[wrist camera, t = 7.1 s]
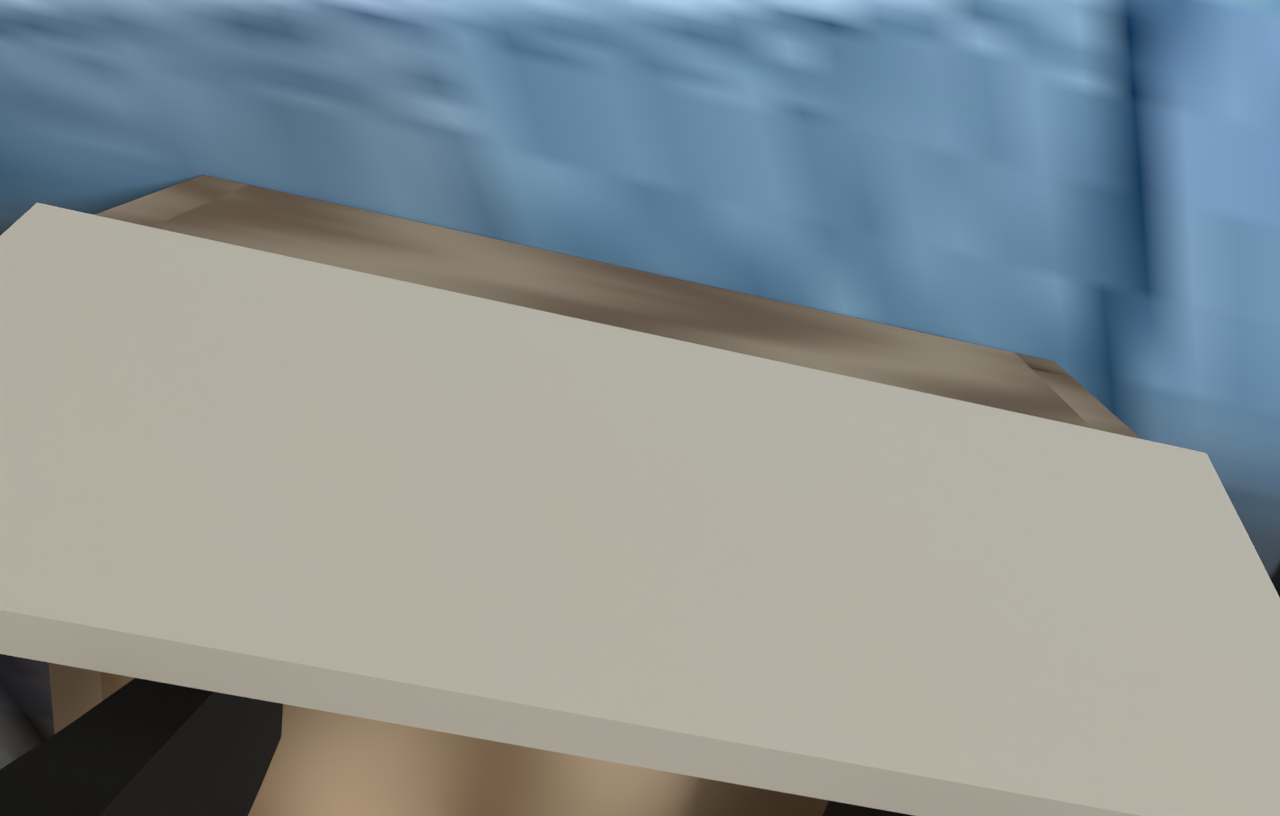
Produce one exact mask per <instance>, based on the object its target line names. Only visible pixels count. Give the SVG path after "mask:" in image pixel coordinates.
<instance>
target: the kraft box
mask: <svg viewBox="0 0 1280 816" xmlns="http://www.w3.org/2000/svg"><path fill="white" fill-rule="evenodd" d="M95 215H97V216H102V217H106V218H111V219H116V220H120V221H125V222H130V223H134V224H139V225H144V226H148V227H153V228H158V229H162V230H167V231H172V232H176V233H181V234H186V235H190V236H195V237H200V238H204V239H209V240H214V241H218V242H223V243H228V244H232V245H237V246H242V247H246V248H251V249H256V250H260V251H265V252H270V253H274V254H279V255H284V256H288V257H293V258H298V259H302V260H307V261H312V262H316V263H321V264H326V265H330V266H335V267H340V268H344V269H349V270H354V271H358V272H363V273H368V274H372V275H377V276H382V277H386V278H391V279H396V280H400V281H405V282H410V283H414V284H419V285H424V286H428V287H433V288H438V289H442V290H447V291H452V292H456V293H461V294H466V295H470V296H475V297H480V298H484V299H489V300H494V301H498V302H503V303H508V304H512V305H517V306H522V307H526V308H531V309H536V310H540V311H545V312H550V313H554V314H559V315H564V316H568V317H573V318H578V319H582V320H587V321H592V322H596V323H601V324H606V325H610V326H615V327H620V328H624V329H629V330H634V331H638V332H643V333H648V334H653V335H657V336H662V337H667V338H671V339H676V340H681V341H685V342H690V343H695V344H699V345H704V346H709V347H713V348H718V349H723V350H727V351H732V352H737V353H741V354H746V355H751V356H755V357H760V358H765V359H769V360H774V361H779V362H783V363H788V364H793V365H797V366H802V367H807V368H811V369H816V370H821V371H825V372H830V373H835V374H839V375H844V376H849V377H853V378H858V379H863V380H867V381H872V382H877V383H881V384H886V385H891V386H895V387H900V388H905V389H909V390H914V391H919V392H923V393H928V394H933V395H937V396H942V397H947V398H951V399H956V400H961V401H965V402H970V403H975V404H979V405H984V406H989V407H993V408H998V409H1003V410H1007V411H1012V412H1017V413H1021V414H1026V415H1031V416H1035V417H1040V418H1045V419H1049V420H1054V421H1059V422H1063V423H1068V424H1073V425H1077V426H1082V427H1087V428H1091V429H1096V430H1101V431H1105V432H1110V433H1115V434H1119V435H1124V436H1129V437H1133V438H1138V439H1140V438H1139V437H1138V436H1137V435H1136V434H1135V433H1134V432H1133V431H1132V430H1130V429H1129V428H1128V427H1127V426H1126V425H1125V424H1124V423H1123V422H1121V421H1120V420H1119V419H1118V418H1117V417H1116V416H1115V415H1114V414H1113V413H1111V412H1110V411H1109V410H1108V409H1107V408H1106V407H1105V406H1104V405H1102V404H1101V403H1100V402H1099V401H1098V400H1097V399H1096V398H1095V397H1094V396H1092V395H1091V394H1090V393H1089V392H1088V391H1087V390H1086V389H1085V388H1083V387H1082V386H1081V385H1080V384H1079V383H1078V382H1077V381H1076V380H1075V379H1073V378H1072V377H1071V376H1070V375H1069V374H1068V373H1067V372H1066V371H1065V370H1063V369H1062V368H1061V367H1060V366H1059V365H1058V364H1057V363H1056V362H1054V361H1049V360H1044V359H1040V358H1035V357H1031V356H1026V355H1022V354H1017V353H1013V352H1008V351H1003V350H999V349H994V348H990V347H985V346H981V345H976V344H972V343H967V342H962V341H958V340H953V339H949V338H944V337H940V336H935V335H931V334H926V333H921V332H917V331H912V330H908V329H903V328H899V327H894V326H890V325H885V324H880V323H876V322H871V321H867V320H862V319H858V318H853V317H848V316H844V315H839V314H835V313H830V312H826V311H821V310H817V309H812V308H807V307H803V306H798V305H794V304H789V303H785V302H780V301H776V300H771V299H766V298H762V297H757V296H753V295H748V294H744V293H739V292H735V291H730V290H725V289H721V288H716V287H712V286H707V285H703V284H698V283H694V282H689V281H684V280H680V279H675V278H671V277H666V276H662V275H657V274H652V273H648V272H643V271H639V270H634V269H630V268H625V267H621V266H616V265H611V264H607V263H602V262H598V261H593V260H589V259H584V258H580V257H575V256H570V255H566V254H561V253H557V252H552V251H548V250H543V249H539V248H534V247H529V246H525V245H520V244H516V243H511V242H507V241H502V240H498V239H493V238H488V237H484V236H479V235H475V234H470V233H466V232H461V231H457V230H452V229H447V228H443V227H438V226H434V225H429V224H425V223H420V222H415V221H411V220H406V219H402V218H397V217H393V216H388V215H384V214H379V213H374V212H370V211H365V210H361V209H356V208H352V207H347V206H343V205H338V204H333V203H329V202H324V201H320V200H315V199H311V198H306V197H302V196H297V195H292V194H288V193H283V192H279V191H274V190H270V189H265V188H261V187H256V186H251V185H247V184H242V183H238V182H233V181H229V180H224V179H219V178H215V177H210V176H206V175H201V176H198V177H196V178H193V179H190V180H187V181H185V182H182V183H179V184H177V185H174V186H171V187H168V188H166V189H163V190H160V191H158V192H155V193H152V194H149V195H147V196H144V197H141V198H139V199H136V200H133V201H130V202H128V203H125V204H122V205H120V206H117V207H114V208H111V209H109V210H106V211H103V212H100V213H98V214H95ZM48 665H49V677H50V688H51V699H52V711H53V722H54V733H55V734H56V733H57V732H59V731H60V730H62V729H63V728H65V727H66V726H68V725H69V724H70V723H72V722H73V721H75V720H76V719H78V718H79V717H81V716H82V715H83V714H85V713H86V712H88V711H89V710H90V709H92V708H93V707H95V706H96V705H97V704H99V703H100V702H102V701H103V700H104V699H106V698H107V697H109V696H110V695H111V694H113V693H114V692H116V691H117V690H119V689H120V688H121V687H123V686H124V685H126V684H127V683H128V682H130V681H131V680H133V679H134V677H128V676H123V675H117V674H111V673H106V672H100V671H94V670H89V669H83V668H77V667H72V666H66V665H60V664H55V663H49V662H48ZM828 802H829V800H824V799H818V798H813V797H807V796H801V795H796V794H790V793H784V792H779V791H773V790H767V789H762V788H756V787H750V786H745V785H739V784H733V783H728V782H722V781H716V780H711V779H705V778H699V777H694V776H688V775H682V774H677V773H671V772H665V771H660V770H654V769H649V768H643V767H637V766H632V765H626V764H620V763H615V762H609V761H603V760H598V759H592V758H586V757H581V756H575V755H569V754H564V753H558V752H552V751H547V750H541V749H535V748H530V747H524V746H518V745H513V744H507V743H501V742H496V741H490V740H485V739H479V738H473V737H468V736H462V735H456V734H451V733H445V732H439V731H434V730H428V729H422V728H417V727H411V726H405V725H400V724H394V723H388V722H383V721H377V720H371V719H366V718H360V717H354V716H349V715H343V714H337V713H332V712H326V711H321V710H315V709H309V708H304V707H298V706H292V705H287V704H283V715H282V733H281V739H280V741H279V744H278V746H277V749H276V751H275V753H274V756H273V758H272V761H271V763H270V766H269V768H268V770H267V773H266V775H265V778H264V780H263V783H262V785H261V787H260V789H259V792H258V794H257V796H256V799H255V801H254V803H253V806H252V808H251V810H250V813H249V815H248V816H823V813H824V811H825V809H826V806H827V804H828Z"/></svg>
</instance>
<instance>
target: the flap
mask: <svg viewBox="0 0 1280 816" xmlns="http://www.w3.org/2000/svg"><path fill="white" fill-rule="evenodd" d="M0 654H4V655H9V656H15V657H21V658H26V659H32V660H38V661H43V662H49V663H55V664H60V665H66V666H72V667H77V668H83V669H89V670H94V671H100V672H106V673H111V674H117V675H123V676H128V677H134V678H140V679H145V680H151V681H157V682H162V683H168V684H173V685H179V686H185V687H190V688H196V689H202V690H207V691H213V692H219V693H224V694H230V695H236V696H241V697H247V698H253V699H258V700H264V701H270V702H275V703H281V704H287V705H292V706H298V707H304V708H309V709H315V710H321V711H326V712H332V713H337V714H343V715H349V716H354V717H360V718H366V719H371V720H377V721H383V722H388V723H394V724H400V725H405V726H411V727H417V728H422V729H428V730H434V731H439V732H445V733H451V734H456V735H462V736H468V737H473V738H479V739H485V740H490V741H496V742H501V743H507V744H513V745H518V746H524V747H530V748H535V749H541V750H547V751H552V752H558V753H564V754H569V755H575V756H581V757H586V758H592V759H598V760H603V761H609V762H615V763H620V764H626V765H632V766H637V767H643V768H649V769H654V770H660V771H665V772H671V773H677V774H682V775H688V776H694V777H699V778H705V779H711V780H716V781H722V782H728V783H733V784H739V785H745V786H750V787H756V788H762V789H767V790H773V791H779V792H784V793H790V794H796V795H801V796H807V797H813V798H818V799H824V800H829V801H835V802H841V803H846V804H852V805H858V806H863V807H869V808H875V809H880V810H886V811H892V812H897V813H903V814H909V815H914V816H1280V597H1279V595H1278V593H1277V591H1276V589H1275V587H1274V585H1273V583H1272V581H1271V580H1270V578H1269V576H1268V574H1267V572H1266V570H1265V568H1264V566H1263V564H1262V562H1261V560H1260V558H1259V556H1258V554H1257V552H1256V550H1255V548H1254V546H1253V544H1252V542H1251V540H1250V538H1249V536H1248V534H1247V532H1246V530H1245V528H1244V526H1243V524H1242V522H1241V520H1240V518H1239V517H1238V515H1237V513H1236V511H1235V509H1234V507H1233V505H1232V503H1231V501H1230V499H1229V497H1228V495H1227V493H1226V491H1225V489H1224V487H1223V485H1222V483H1221V481H1220V479H1219V477H1218V475H1217V473H1216V471H1215V469H1214V467H1213V465H1212V463H1211V461H1210V459H1209V457H1208V455H1207V453H1203V452H1199V451H1194V450H1189V449H1185V448H1180V447H1175V446H1171V445H1166V444H1161V443H1157V442H1152V441H1147V440H1143V439H1138V438H1133V437H1129V436H1124V435H1119V434H1115V433H1110V432H1105V431H1101V430H1096V429H1091V428H1087V427H1082V426H1077V425H1073V424H1068V423H1063V422H1059V421H1054V420H1049V419H1045V418H1040V417H1035V416H1031V415H1026V414H1021V413H1017V412H1012V411H1007V410H1003V409H998V408H993V407H989V406H984V405H979V404H975V403H970V402H965V401H961V400H956V399H951V398H947V397H942V396H937V395H933V394H928V393H923V392H919V391H914V390H909V389H905V388H900V387H895V386H891V385H886V384H881V383H877V382H872V381H867V380H863V379H858V378H853V377H849V376H844V375H839V374H835V373H830V372H825V371H821V370H816V369H811V368H807V367H802V366H797V365H793V364H788V363H783V362H779V361H774V360H769V359H765V358H760V357H755V356H751V355H746V354H741V353H737V352H732V351H727V350H723V349H718V348H713V347H709V346H704V345H699V344H695V343H690V342H685V341H681V340H676V339H671V338H667V337H662V336H657V335H653V334H648V333H643V332H638V331H634V330H629V329H624V328H620V327H615V326H610V325H606V324H601V323H596V322H592V321H587V320H582V319H578V318H573V317H568V316H564V315H559V314H554V313H550V312H545V311H540V310H536V309H531V308H526V307H522V306H517V305H512V304H508V303H503V302H498V301H494V300H489V299H484V298H480V297H475V296H470V295H466V294H461V293H456V292H452V291H447V290H442V289H438V288H433V287H428V286H424V285H419V284H414V283H410V282H405V281H400V280H396V279H391V278H386V277H382V276H377V275H372V274H368V273H363V272H358V271H354V270H349V269H344V268H340V267H335V266H330V265H326V264H321V263H316V262H312V261H307V260H302V259H298V258H293V257H288V256H284V255H279V254H274V253H270V252H265V251H260V250H256V249H251V248H246V247H242V246H237V245H232V244H228V243H223V242H218V241H214V240H209V239H204V238H200V237H195V236H190V235H186V234H181V233H176V232H172V231H167V230H162V229H158V228H153V227H148V226H144V225H139V224H134V223H130V222H125V221H120V220H116V219H111V218H106V217H102V216H97V215H92V214H88V213H83V212H78V211H73V210H69V209H64V208H59V207H55V206H50V205H45V204H41V203H36V204H35V205H34V206H33V207H32V208H31V209H30V210H28V211H27V212H26V213H25V214H24V215H23V216H22V217H21V218H20V219H18V220H17V221H16V222H15V223H14V224H13V225H12V226H11V227H10V228H8V229H7V230H6V231H5V232H4V233H3V234H2V235H1V236H0Z"/></svg>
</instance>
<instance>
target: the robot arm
mask: <svg viewBox="0 0 1280 816" xmlns="http://www.w3.org/2000/svg"><path fill="white" fill-rule="evenodd" d="M282 715H283V704H281V703H275V702H270V701H264V700H258V699H253V698H247V697H241V696H236V695H230V694H224V693H219V692H213V691H207V690H202V689H196V688H190V687H185V686H179V685H173V684H168V683H162V682H157V681H151V680H145V679H140V678H134V679H133V680H131V681H130V682H128V683H127V684H126V685H124V686H123V687H121V688H120V689H119V690H117V691H116V692H114V693H113V694H111V695H110V696H109V697H107V698H106V699H104V700H103V701H102V702H100V703H99V704H97V705H96V706H95V707H93V708H92V709H90V710H89V711H88V712H86V713H85V714H83V715H82V716H81V717H79V718H78V719H76V720H75V721H73V722H72V723H70V724H69V725H68V726H66V727H65V728H63V729H62V730H60V731H59V732H57V733H56V734H54V735H53V736H51V737H50V738H48V739H47V740H45V741H44V742H42V743H40V744H39V745H37V746H36V747H34V748H33V749H31V750H30V751H28V752H27V753H25V754H24V755H22V756H21V757H19V758H17V759H16V760H14V761H13V762H11V763H10V764H8V765H7V766H5V767H4V768H2V769H1V770H0V816H248V815H249V813H250V810H251V808H252V806H253V803H254V801H255V799H256V796H257V794H258V792H259V789H260V787H261V785H262V783H263V780H264V778H265V775H266V773H267V770H268V768H269V766H270V763H271V761H272V758H273V756H274V753H275V751H276V749H277V746H278V744H279V741H280V739H281V733H282ZM823 816H914V815H909V814H903V813H897V812H892V811H886V810H880V809H875V808H869V807H863V806H858V805H852V804H846V803H841V802H835V801H829V802H828V804H827V806H826V809H825V811H824V813H823Z"/></svg>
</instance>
